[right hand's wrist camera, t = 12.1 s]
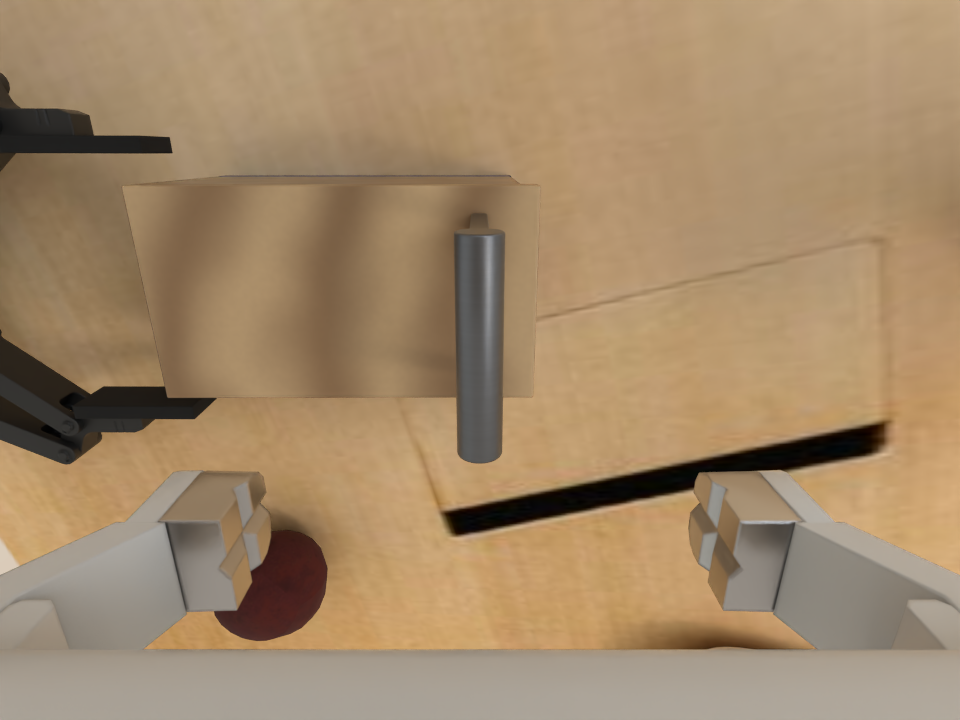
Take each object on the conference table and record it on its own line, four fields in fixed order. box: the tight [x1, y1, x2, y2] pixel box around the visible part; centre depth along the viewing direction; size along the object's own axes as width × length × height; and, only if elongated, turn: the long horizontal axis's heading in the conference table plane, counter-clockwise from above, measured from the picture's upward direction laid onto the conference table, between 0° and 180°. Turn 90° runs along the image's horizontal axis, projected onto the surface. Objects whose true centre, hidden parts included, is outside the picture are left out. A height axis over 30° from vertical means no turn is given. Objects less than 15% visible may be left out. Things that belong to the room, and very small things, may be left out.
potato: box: [214, 530, 327, 641], centre depth 39 cm, size 7×8×7 cm
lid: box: [122, 184, 541, 463], centre depth 22 cm, size 18×10×9 cm, turn 90°
